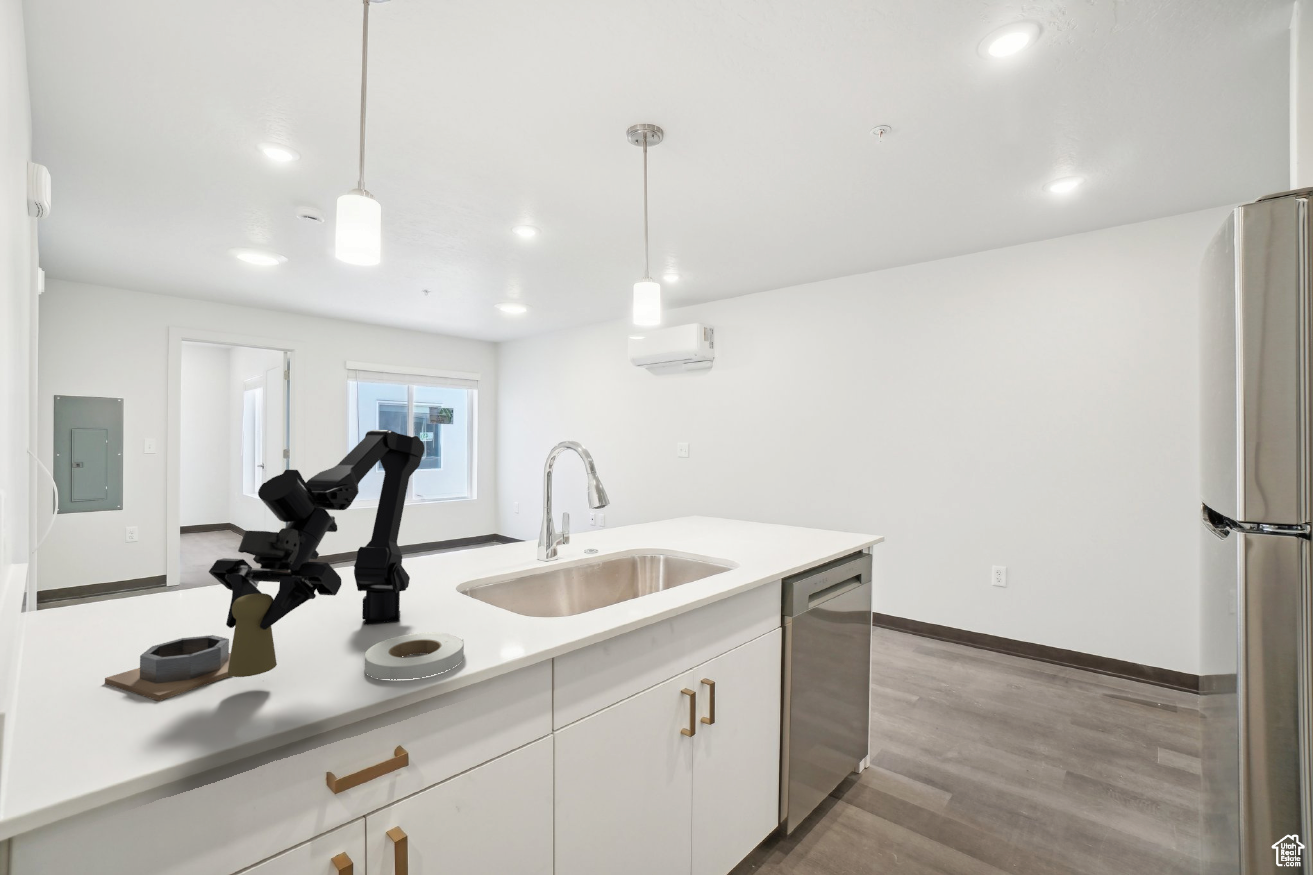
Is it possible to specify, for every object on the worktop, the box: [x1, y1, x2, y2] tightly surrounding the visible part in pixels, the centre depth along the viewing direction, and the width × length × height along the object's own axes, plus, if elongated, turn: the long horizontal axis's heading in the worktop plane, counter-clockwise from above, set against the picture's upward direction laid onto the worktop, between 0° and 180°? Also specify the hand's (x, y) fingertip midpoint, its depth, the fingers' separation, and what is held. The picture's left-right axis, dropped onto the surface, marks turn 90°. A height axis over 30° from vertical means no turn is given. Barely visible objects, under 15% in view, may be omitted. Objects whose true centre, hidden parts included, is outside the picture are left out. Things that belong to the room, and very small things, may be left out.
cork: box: [227, 592, 278, 678], centre depth 85 cm, size 6×6×11 cm
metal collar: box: [139, 634, 230, 684], centre depth 90 cm, size 10×10×4 cm
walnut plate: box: [104, 652, 231, 702], centre depth 90 cm, size 14×14×1 cm
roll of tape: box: [364, 632, 465, 680], centre depth 96 cm, size 16×15×3 cm
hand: (245, 627), depth 84 cm, fingers closed on cork, 5 cm apart
